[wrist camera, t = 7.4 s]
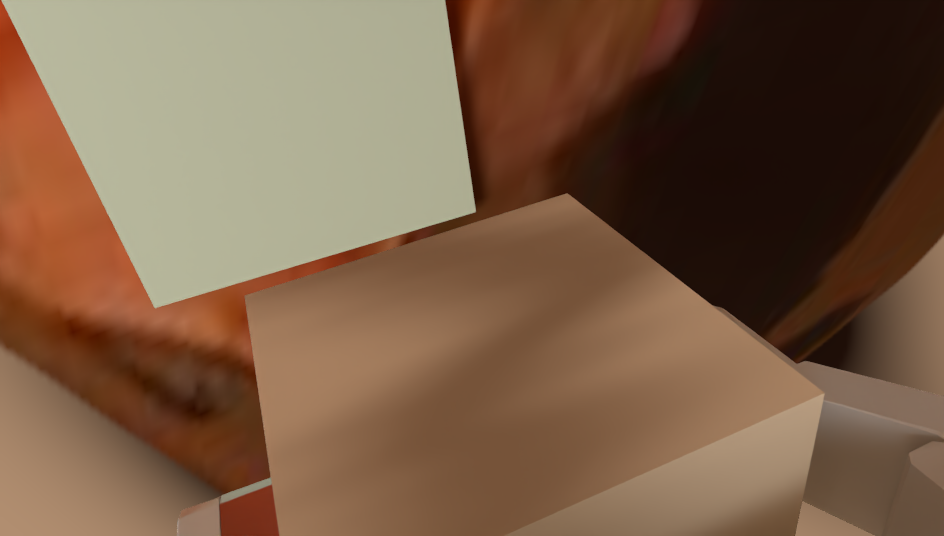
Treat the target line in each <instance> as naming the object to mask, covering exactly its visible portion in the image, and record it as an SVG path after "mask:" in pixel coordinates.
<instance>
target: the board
mask: <svg viewBox="0 0 944 536" xmlns="http://www.w3.org/2000/svg"><path fill="white" fill-rule="evenodd" d="M2 2H3V4H4V6H5V8H6V10H7V12H8V14H9V16H10V18H11V20H12V22H13V24H14V26H15V28H16V30H17V32H18V34H19V36H20V38H21V40H22V42H23V44H24V46H25V48H26V50H27V52H28V54H29V56H30V58H31V60H32V62H33V64H34V66H35V68H36V70H37V72H38V74H39V76H40V78H41V80H42V82H43V84H44V86H45V88H46V90H47V92H48V94H49V96H50V98H51V100H52V102H53V104H54V106H55V109H56V111H57V113H58V115H59V117H60V119H61V121H62V123H63V125H64V127H65V129H66V131H67V133H68V135H69V137H70V139H71V141H72V143H73V145H74V147H75V149H76V151H77V153H78V155H79V157H80V159H81V161H82V163H83V165H84V167H85V169H86V171H87V173H88V175H89V177H90V179H91V181H92V183H93V185H94V187H95V189H96V191H97V193H98V195H99V197H100V199H101V201H102V203H103V205H104V207H105V209H106V211H107V213H108V215H109V217H110V219H111V221H112V223H113V225H114V227H115V229H116V231H117V233H118V235H119V237H120V239H121V241H122V243H123V245H124V247H125V249H126V251H127V253H128V255H129V257H130V259H131V261H132V263H133V265H134V267H135V269H136V271H137V273H138V275H139V277H140V279H141V281H142V283H143V285H144V287H145V289H146V291H147V293H148V295H149V297H150V299H151V301H152V304H153V306H154V308H157V307H160V306H164V305H167V304H170V303H174V302H177V301H180V300H184V299H187V298H190V297H194V296H197V295H200V294H204V293H207V292H210V291H214V290H217V289H220V288H224V287H227V286H230V285H234V284H237V283H240V282H244V281H247V280H250V279H254V278H257V277H260V276H264V275H267V274H270V273H274V272H277V271H280V270H284V269H287V268H290V267H294V266H297V265H300V264H304V263H307V262H310V261H314V260H317V259H320V258H324V257H327V256H330V255H334V254H337V253H340V252H344V251H347V250H350V249H354V248H357V247H360V246H364V245H367V244H370V243H374V242H377V241H380V240H384V239H387V238H390V237H394V236H397V235H400V234H404V233H407V232H410V231H414V230H417V229H420V228H424V227H427V226H430V225H434V224H437V223H440V222H444V221H447V220H451V219H454V218H457V217H461V216H464V215H467V214H471V213H474V212H476V209H475V202H474V195H473V188H472V181H471V175H470V168H469V161H468V154H467V147H466V140H465V133H464V127H463V120H462V113H461V106H460V99H459V92H458V86H457V79H456V72H455V65H454V58H453V51H452V44H451V38H450V31H449V24H448V17H447V10H446V3H445V0H2Z"/></svg>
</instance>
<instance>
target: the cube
mask: <svg viewBox="0 0 944 536" xmlns="http://www.w3.org/2000/svg"><path fill="white" fill-rule="evenodd" d="M245 302H246V308H247V315H248V322H249V329H250V336H251V343H252V350H253V357H254V364H255V371H256V377H257V384H258V391H259V398H260V405H261V412H262V419H263V426H264V433H265V440H266V446H267V453H268V460H269V467H270V474H271V481H272V488H273V495H274V502H275V509H276V515H277V522H278V529H279V536H795V533H796V528H797V523H798V519H799V514H800V509H801V504H802V500H803V495H804V490H805V485H806V481H807V476H808V471H809V466H810V462H811V457H812V452H813V447H814V443H815V438H816V433H817V428H818V424H819V419H820V414H821V409H822V405H823V400H824V395H825V393H824V392H823V391H822V390H820V389H819V388H818V387H817V386H815V385H814V384H813V383H811V382H810V381H809V380H807V379H806V378H805V377H804V376H802V375H801V374H800V373H798V372H797V371H796V370H795V369H793V368H792V367H791V366H789V365H788V364H787V363H786V362H784V361H783V360H782V359H780V358H779V357H778V356H777V355H775V354H774V353H773V352H771V351H770V350H769V349H767V348H766V347H765V346H764V345H762V344H761V343H760V342H758V341H757V340H756V339H755V338H753V337H752V336H751V335H749V334H748V333H747V332H746V331H744V330H743V329H742V328H740V327H739V326H738V325H736V324H735V323H734V322H733V321H731V320H730V319H729V318H727V317H726V316H725V315H724V314H722V313H721V312H720V311H718V310H717V309H716V308H715V307H713V306H712V305H711V304H709V303H708V302H707V301H706V300H704V299H703V298H702V297H700V296H699V295H698V294H696V293H695V292H694V291H693V290H691V289H690V288H689V287H687V286H686V285H685V284H684V283H682V282H681V281H680V280H678V279H677V278H676V277H675V276H673V275H672V274H671V273H669V272H668V271H667V270H666V269H664V268H663V267H662V266H660V265H659V264H658V263H656V262H655V261H654V260H653V259H651V258H650V257H649V256H647V255H646V254H645V253H644V252H642V251H641V250H640V249H638V248H637V247H636V246H635V245H633V244H632V243H631V242H629V241H628V240H627V239H626V238H624V237H623V236H622V235H620V234H619V233H618V232H616V231H615V230H614V229H613V228H611V227H610V226H609V225H607V224H606V223H605V222H604V221H602V220H601V219H600V218H598V217H597V216H596V215H595V214H593V213H592V212H591V211H589V210H588V209H587V208H585V207H584V206H583V205H582V204H580V203H579V202H578V201H576V200H575V199H574V198H573V197H571V196H570V195H569V194H564V195H560V196H557V197H554V198H551V199H548V200H545V201H542V202H538V203H535V204H532V205H529V206H526V207H523V208H520V209H516V210H513V211H510V212H507V213H504V214H501V215H497V216H494V217H491V218H488V219H485V220H482V221H479V222H475V223H472V224H469V225H466V226H463V227H460V228H457V229H453V230H450V231H447V232H444V233H441V234H438V235H434V236H431V237H428V238H425V239H422V240H419V241H416V242H412V243H409V244H406V245H403V246H400V247H397V248H394V249H390V250H387V251H384V252H381V253H378V254H375V255H372V256H368V257H365V258H362V259H359V260H356V261H353V262H349V263H346V264H343V265H340V266H337V267H334V268H331V269H327V270H324V271H321V272H318V273H315V274H312V275H309V276H305V277H302V278H299V279H296V280H293V281H290V282H286V283H283V284H280V285H277V286H274V287H271V288H268V289H264V290H261V291H258V292H255V293H252V294H249V295H246V296H245Z"/></svg>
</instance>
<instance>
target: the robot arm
mask: <svg viewBox="0 0 944 536" xmlns="http://www.w3.org/2000/svg"><path fill="white" fill-rule="evenodd" d="M713 307H715V308H716V309H717V310H718V311H720V312H721V313H722V314H724V315H725V316H726V317H727V318H729V319H730V320H731V321H733V322H734V323H735V324H736V325H738V326H739V327H740V328H742V329H743V330H744V331H746V332H747V333H748V334H749V335H751V336H752V337H753V338H755V339H756V340H757V341H758V342H760V343H761V344H762V345H764V346H765V347H766V348H767V349H769V350H770V351H771V352H773V353H774V354H775V355H777V356H778V357H779V358H780V359H782V360H783V361H784V362H786V363H787V364H788V365H789V366H791V367H792V368H793V369H795V370H796V371H797V372H798V373H800V374H801V375H802V376H804V377H805V378H806V379H807V380H809V381H810V382H811V383H813V384H814V385H815V386H817V387H818V388H819V389H820V390H822V391H823V392H824V393H825V395H824V400H823V405H822V409H821V414H820V419H819V424H818V428H817V433H816V438H815V443H814V447H813V452H812V457H811V462H810V466H809V471H808V476H807V481H806V485H805V490H804V495H803V500H802V501H804V502H806V503H808V504H810V505H812V506H814V507H816V508H819V509H821V510H823V511H825V512H827V513H829V514H831V515H833V516H835V517H838V518H840V519H842V520H844V521H846V522H848V523H850V524H853V525H854V526H856V527H858V528H861V529H863V530H865V531H867V532H869V533H871V534H873V535H875V536H944V396H941V395H937V394H933V393H929V392H925V391H921V390H917V389H913V388H910V387H905V386H902V385H898V384H893V383H890V382H886V381H882V380H878V379H874V378H870V377H866V376H862V375H858V374H855V373H851V372H847V371H843V370H839V369H835V368H831V367H827V366H823V365H819V364H815V363H811V362H807V361H804V362H801V363H799V364H796V363H795V362H793V361H792V360H791V359H789V358H788V357H787V356H785V355H784V354H783V353H781V352H780V351H779V350H777V349H776V348H775V347H773V346H772V345H771V344H769V343H768V342H767V341H765V340H764V339H763V338H762V337H760V336H759V335H758V334H756V333H755V332H754V331H752V330H751V329H750V328H748V327H747V326H746V325H744V324H743V323H742V322H740V321H739V320H738V319H736V318H735V317H734V316H732V315H731V314H730V313H728V312H727V311H726V310H724V309H723V308H720V307H716V306H713ZM177 536H279V529H278V522H277V515H276V509H275V502H274V495H273V488H272V481H271V478H269V479H266V480H263V481H260V482H257V483H255V484H252V485H249V486H246V487H243V488H241V489H238V490H235V491H232V492H229V493H227V494H224V495H222V496H221V497H218V498H216V499H212V500H210V501H207V502H204V503H201V504H199V505H196V506H193V507H190V508H187V509H184V510H182V511H181V514H180V517H179V519H178V522H177Z"/></svg>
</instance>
